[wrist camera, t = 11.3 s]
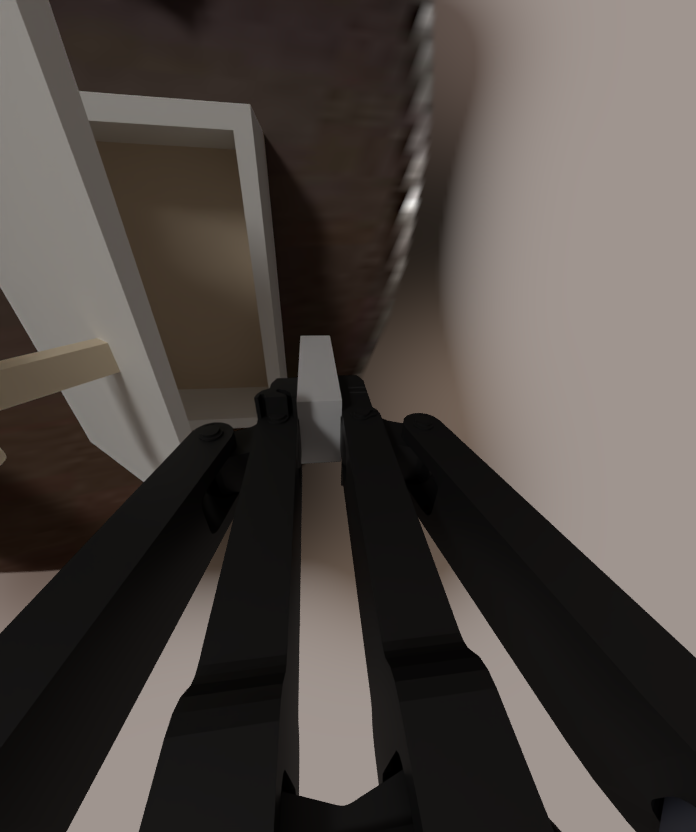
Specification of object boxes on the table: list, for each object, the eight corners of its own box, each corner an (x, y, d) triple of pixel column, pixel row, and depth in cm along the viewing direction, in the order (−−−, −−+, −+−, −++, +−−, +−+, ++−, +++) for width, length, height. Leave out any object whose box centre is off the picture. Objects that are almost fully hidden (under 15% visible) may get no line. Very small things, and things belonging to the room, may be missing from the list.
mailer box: (136, 396, 35) (100, 434, 29) (16, 117, 22) (-97, 77, 16) (288, 391, 37) (285, 425, 31) (263, 133, 24) (250, 104, 18)
